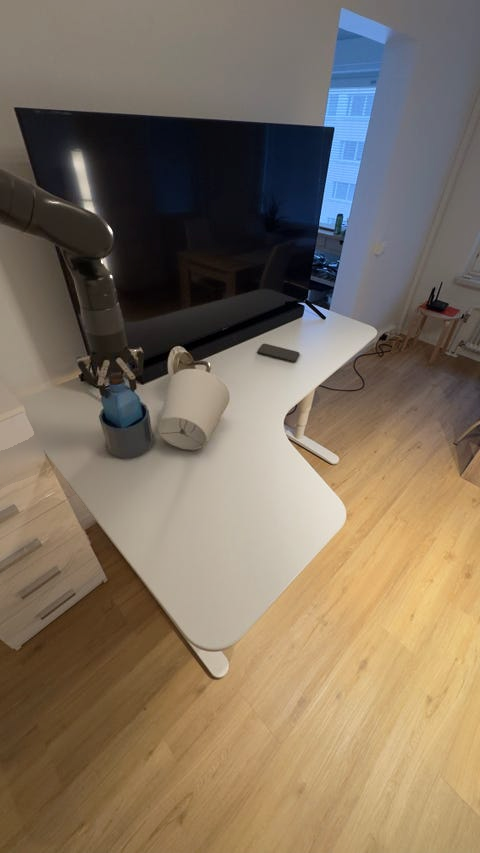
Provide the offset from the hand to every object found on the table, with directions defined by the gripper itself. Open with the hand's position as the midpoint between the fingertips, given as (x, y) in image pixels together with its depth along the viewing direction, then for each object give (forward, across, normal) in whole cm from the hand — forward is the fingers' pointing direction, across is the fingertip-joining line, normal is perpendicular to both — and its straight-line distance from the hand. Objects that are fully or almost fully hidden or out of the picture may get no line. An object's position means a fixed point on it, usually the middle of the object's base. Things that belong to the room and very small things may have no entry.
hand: (119, 393), depth 80 cm
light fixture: (+16, -20, -6) cm, 27 cm away
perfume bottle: (+8, 0, 0) cm, 8 cm away
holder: (+16, 0, 0) cm, 16 cm away
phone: (+16, -61, -27) cm, 69 cm away
